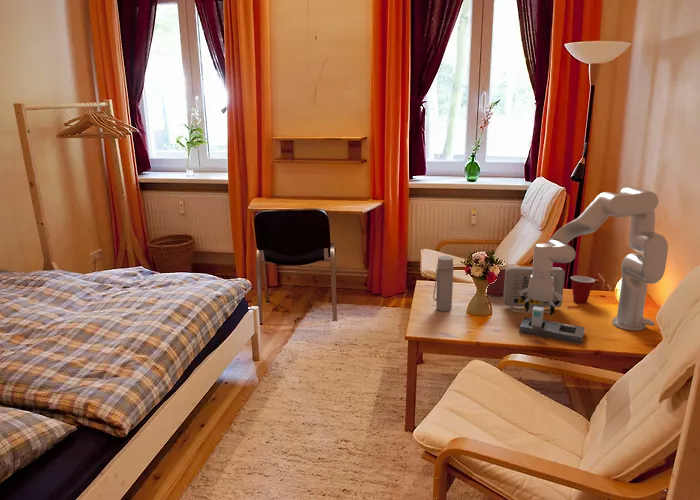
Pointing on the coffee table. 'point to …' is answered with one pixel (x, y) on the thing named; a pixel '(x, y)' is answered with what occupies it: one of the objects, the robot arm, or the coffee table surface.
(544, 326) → the panel
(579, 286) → the plastic cup
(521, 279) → the network device
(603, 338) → the coffee table surface
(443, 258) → the water bottle
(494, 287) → the canister
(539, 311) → the plug
